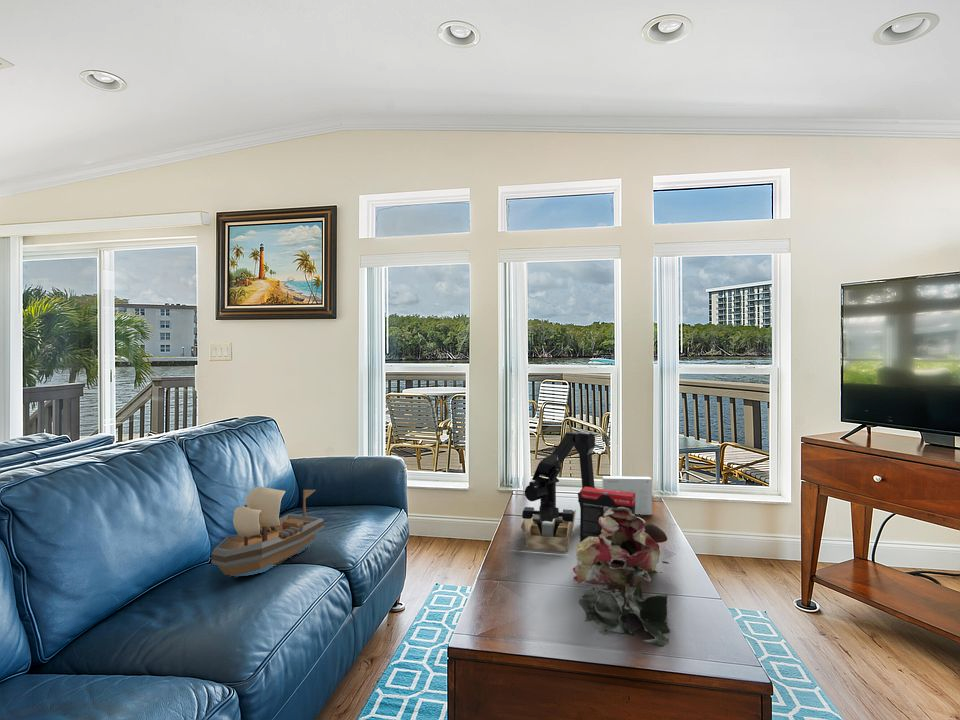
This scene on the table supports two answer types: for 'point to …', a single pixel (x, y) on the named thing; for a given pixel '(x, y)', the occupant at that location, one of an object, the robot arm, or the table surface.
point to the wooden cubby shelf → (548, 537)
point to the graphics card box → (600, 508)
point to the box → (548, 528)
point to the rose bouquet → (620, 575)
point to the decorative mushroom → (655, 533)
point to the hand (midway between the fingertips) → (548, 537)
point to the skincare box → (633, 490)
